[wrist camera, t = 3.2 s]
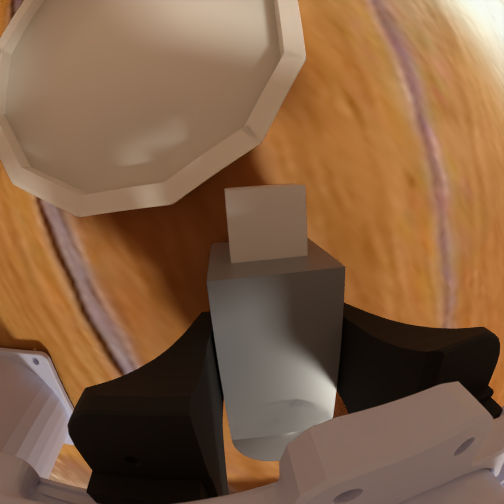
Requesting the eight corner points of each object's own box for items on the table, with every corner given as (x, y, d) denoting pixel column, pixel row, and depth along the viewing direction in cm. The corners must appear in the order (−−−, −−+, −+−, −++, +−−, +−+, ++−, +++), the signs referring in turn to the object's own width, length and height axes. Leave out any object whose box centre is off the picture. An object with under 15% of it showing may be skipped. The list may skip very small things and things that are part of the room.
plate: (15, 225, 11) (-9, 233, 9) (29, -7, 8) (13, -20, 6) (302, 189, 12) (317, 192, 10) (274, -58, 9) (280, -80, 7)
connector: (231, 400, 14) (237, 465, 10) (206, 188, 11) (197, 196, 7) (303, 390, 15) (327, 451, 10) (301, 181, 12) (344, 186, 8)
